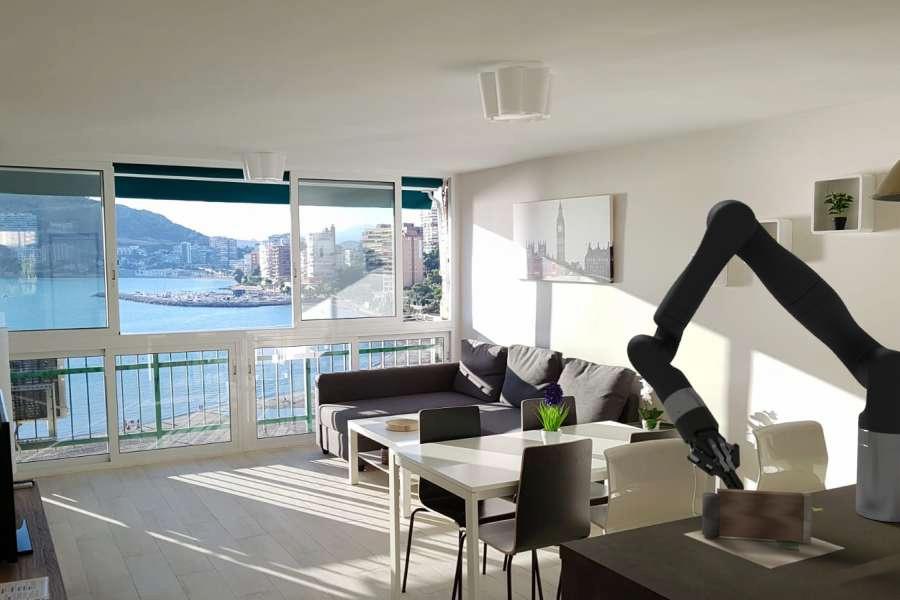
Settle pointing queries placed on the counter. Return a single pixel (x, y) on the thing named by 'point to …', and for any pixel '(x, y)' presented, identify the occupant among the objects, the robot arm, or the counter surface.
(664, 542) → the counter surface
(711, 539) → the beige flat square sheet
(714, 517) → the brown wood panel
